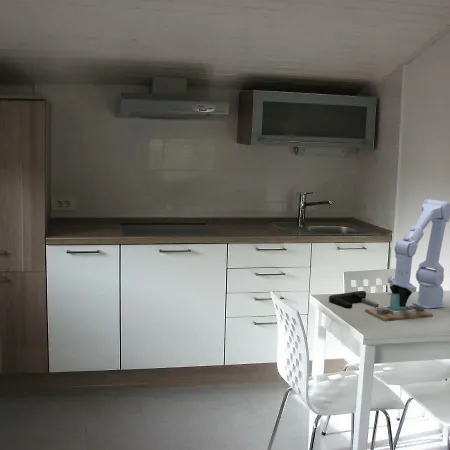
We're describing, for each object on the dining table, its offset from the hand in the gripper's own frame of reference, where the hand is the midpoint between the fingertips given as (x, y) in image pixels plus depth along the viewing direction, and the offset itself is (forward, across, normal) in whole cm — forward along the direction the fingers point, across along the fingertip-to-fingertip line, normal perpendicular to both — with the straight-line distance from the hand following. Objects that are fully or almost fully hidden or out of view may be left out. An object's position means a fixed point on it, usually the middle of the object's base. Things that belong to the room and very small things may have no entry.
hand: (399, 305), depth 233 cm
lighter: (+4, -24, +17) cm, 29 cm away
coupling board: (+4, 0, 0) cm, 4 cm away
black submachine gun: (+4, -17, -8) cm, 19 cm away
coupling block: (+3, 0, -1) cm, 3 cm away
